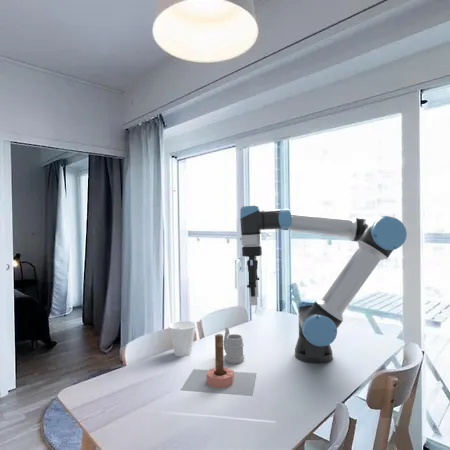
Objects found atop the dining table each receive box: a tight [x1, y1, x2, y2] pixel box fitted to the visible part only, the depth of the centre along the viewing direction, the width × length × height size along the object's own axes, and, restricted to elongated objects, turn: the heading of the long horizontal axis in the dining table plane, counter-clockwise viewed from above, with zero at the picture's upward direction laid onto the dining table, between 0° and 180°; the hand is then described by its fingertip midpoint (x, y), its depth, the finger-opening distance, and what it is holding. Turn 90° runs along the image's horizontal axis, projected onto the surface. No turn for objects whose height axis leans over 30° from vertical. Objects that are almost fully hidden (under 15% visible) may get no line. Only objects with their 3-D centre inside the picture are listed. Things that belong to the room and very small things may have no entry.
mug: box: [223, 326, 245, 365], centre depth 133 cm, size 8×12×12 cm, turn 31°
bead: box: [207, 366, 235, 388], centre depth 113 cm, size 9×9×3 cm
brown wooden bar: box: [214, 333, 225, 376], centre depth 113 cm, size 3×3×16 cm
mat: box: [180, 368, 257, 397], centre depth 113 cm, size 24×16×1 cm, turn 80°
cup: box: [168, 320, 197, 358], centre depth 140 cm, size 12×12×12 cm
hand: (254, 300), depth 125 cm, fingers open, 13 cm apart
